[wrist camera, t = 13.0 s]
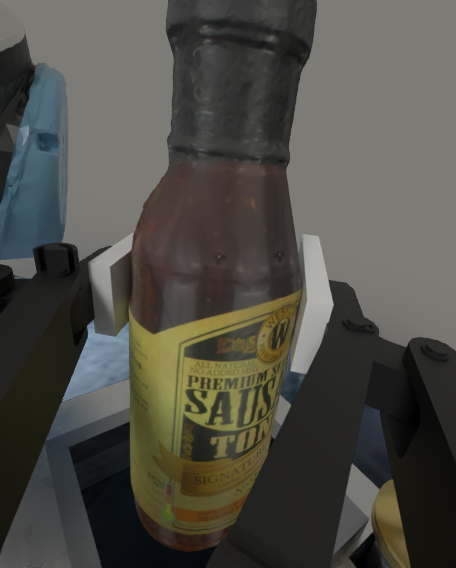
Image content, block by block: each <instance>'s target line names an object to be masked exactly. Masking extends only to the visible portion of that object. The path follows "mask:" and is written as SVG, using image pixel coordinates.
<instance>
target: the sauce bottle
mask: <svg viewBox="0 0 456 568" xmlns="http://www.w3.org/2000/svg"><path fill="white" fill-rule="evenodd" d="M316 11H317V1H316V0H168V9H167V19H166V33H167V36H168V40H169V42H170V46H171V49H172V53H173V57H174V67H173V97H172V120H171V133H170V135H169V136H168V139H167V143H168V150H169V167H168V170H167V172H166V174H165V175H164V176H163V177H162V178H161V180H160V183H159V184H158V185H157V187H156V188H155V189H154V191H152V193H151V194H150V196H149V198H148V199H147V201H146V202H145V203H144V205H143V211H142V213H141V216H140V219H139V222H138V224H137V227H136V230H135V232H134V234H133V241H132V252H131V259H132V260H131V265H132V281H133V285H132V295H131V297H130V300H129V364H130V476H131V484H132V489H133V493H134V500H135V504H136V508H137V512H138V515H139V518H140V521H141V522H142V524H143V526H144V528H145V530H146V531H147V532H148V533H149V534H150V535H151V536H152V537H153V538H154V539H155V540H157V541H159V542H160V543H162V544H163V545H164V546H166V547H168V548H173V549H175V550H180V551H184V552H192V551H199V550H205V549H208V548H211V547H215V546H217V545H218V544H219V542H220V541H221V539H223V538H225V537H226V536H227V535H228V534H229V532H230V531H231V529H232V527H233V525H234V523H235V521H236V519H237V517H238V515H239V513H240V511H241V508H242V506H243V504H244V502H245V500H246V498H247V496H248V494H249V492H250V490H251V488H252V486H253V484H254V482H255V479H256V477H257V475H258V473H259V471H260V469H261V467H262V465H263V463H264V461H265V459H266V457H267V455H268V450H269V445H270V440H271V435H272V431H273V426H274V421H275V416H276V412H277V409H278V403H279V396H280V392H281V387H282V383H283V378H284V373H285V369H286V364H287V358H288V353H289V349H290V344H291V339H292V335H293V330H294V325H295V321H296V316H297V313H298V309H299V303H300V297H301V292H302V287H303V284H302V278H301V271H300V264H299V257H298V251H297V243H296V237H295V230H294V223H293V216H292V210H291V203H290V196H289V189H288V182H287V175H286V168H287V166H288V163H289V160H290V152H289V140H290V134H291V127H292V123H293V117H294V110H295V104H296V96H297V92H298V84H299V81H300V75H301V72H302V69H303V67H304V66H305V64H306V62H307V60H308V58H309V56H310V52H311V48H312V43H313V37H314V25H315V19H316Z"/></svg>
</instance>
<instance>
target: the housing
mask: <svg viewBox="0 0 456 568" xmlns="http://www.w3.org/2000/svg"><path fill="white" fill-rule="evenodd" d="M290 407H291V404H290V403H289V402H287V401H286V400H285V399H284V398H283V397H282V396H281V395H280V396H279V403H278V409H277V412H276V416H275V421H274V426H273V431H272V435H271V440H270V445H269V450H270V448H271V446H272V444H273V442H274V440H275V438H276V436H277V434H278V432H279V430H280V428H281V425H282V423H283V421H284V419H285V417H286V415H287V413H288V411H289V409H290ZM269 450H268V452H269ZM128 467H130V379H127V380H124V381H121V382H118V383H116V384H113V385H110V386H107V387H104V388H101V389H98V390H95V391H93V392H90V393H87V394H84V395H81V396H78V397H75V398H73V399H70V400H67V401H64V402H61V404H60V407H59V409H58V412H57V414H56V416H55V419H54V421H53V424H52V426H51V429H50V431H49V434H48V436H47V439H46V441H45V444H44V446H43V448H42V451H41V453H40V456H39V458H38V461H37V463H36V466H35V468H34V471H33V473H32V476H31V478H30V480H29V483H28V485H27V488H26V490H25V493H24V495H23V498H22V500H21V503H20V505H19V508H18V510H17V512H16V515H15V517H14V520H13V522H12V525H11V527H10V530H9V532H8V535H7V537H6V540H5V542H4V545H3V548H2V551H1V555H0V568H102V566H101V563H100V559H99V556H98V552H97V548H96V545H95V541H94V538H93V534H92V530H91V527H90V523H89V520H88V516H87V513H86V509H85V505H84V502H83V498H82V495H81V491H82V490H84V489H86V488H88V487H90V486H92V485H94V484H96V483H98V482H100V481H102V480H104V479H106V478H108V477H110V476H112V475H114V474H116V473H118V472H120V471H122V470H124V469H126V468H128ZM379 490H380V489H379V488H377V487H376V486H375V485H374V484H373V483H372V482H371V481H370V480H369V479H368V478H367V477H366V476H365V475H364V474H363V473H362V472H361V471H360V470H359V469H358V468H357V467H355V466H354V465H353V464H352V466H351V470H350V475H349V480H348V485H347V490H346V494H345V499H344V504H343V509H342V514H341V518H340V523H339V528H338V533H337V538H336V542H335V547H334V552H333V557H332V562H331V566H330V568H356V566H355V565H354V563H355V562H356V561H357V560H358V559H359V558H360V557H361V556H362V555H363V553H364V552H365V551H366V550H367V549H368V548H369V547H370V546H371V545H372V544H373V543H374V541H375V536H374V533H373V529H372V523H371V510H372V506H373V503H374V500H375V498H376V496H377V494H378V492H379Z"/></svg>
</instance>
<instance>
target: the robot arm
mask: <svg viewBox="0 0 456 568" xmlns="http://www.w3.org/2000/svg"><path fill="white" fill-rule="evenodd" d="M65 86H66V83H65V79H64V77H63V75H62V74H61V73H60V72H59V71H58V70H56V69H53V68H50V67H49V66H48V65H47V64H46V63H38V64H37V65H34V64H33V62H32V60H31V58H30V54H29V49H28V45H27V40H26V35H25V30H24V27H23V23H22V20H21V18H20V17H19V15H17V13H16V12H15V11H14V10H12V8H10V6H9V5H7V3H6V2H4V0H0V260H6V259H19V258H30V257H34V259H35V264H36V270H37V273H36V274H35V275H34V277H33V278H32V279H14V276H13V271H12V268H10V267H9V266H6V265H1V264H0V555H1V551H2V548H3V545H4V542H5V540H6V537H7V535H8V532H9V530H10V527H11V525H12V522H13V520H14V517H15V515H16V512H17V510H18V508H19V505H20V503H21V500H22V498H23V495H24V493H25V490H26V488H27V485H28V483H29V480H30V478H31V476H32V473H33V471H34V468H35V466H36V463H37V461H38V458H39V456H40V453H41V451H42V448H43V446H44V444H45V441H46V439H47V436H48V434H49V431H50V429H51V426H52V424H53V421H54V419H55V416H56V414H57V412H58V409H59V407H60V404H61V402H62V399H63V397H64V394H65V392H66V389H67V387H68V384H69V382H70V380H71V377H72V375H73V372H74V370H75V367H76V365H77V362H78V360H79V357H80V355H81V352H82V350H83V348H84V345H85V343H86V340H87V338H88V331H87V325H88V324H89V323H90V322H91V321H92V320H93V319H94V325H95V333H99V334H104V335H109V336H114V337H115V336H116V335H117V334H118V333H119V332H120V331H121V329H122V328H123V327H124V326H125V325H126V323H127V322H128V321H129V300H130V297H131V295H132V285H133V281H132V265H131V260H132V259H131V252H132V241H133V234H134V232H133V233H132V234H130V235H129V236H128V237H126V238H124V239H123V240H121V241H120V242H118V243H117V244H115V245H114V246H108V247H105V248H101V249H99V250H97V251H96V252H94V253H93V254H92V255H90V256H88V257H86V259H83V260H82V261H80V262H79V258H78V250H77V247H76V246H75V245H72V244H68V243H61V242H62V239H63V236H64V230H65V222H66V209H67V189H68V186H67V185H68V108H67V97H66V91H65ZM298 257H299V264H300V271H301V278H302V284H303V287H302V292H301V297H300V303H299V309H298V313H297V316H296V321H295V325H294V330H293V335H292V339H291V368H290V371H293V372H298V373H303V374H306V376H305V378H304V380H303V382H302V384H301V386H300V388H299V390H298V392H297V394H296V396H295V398H294V401H293V403H292V405H291V407H290V409H289V411H288V413H287V415H286V417H285V419H284V421H283V423H282V425H281V428H280V430H279V432H278V434H277V436H276V438H275V440H274V442H273V444H272V446H271V448H270V450H269V452H268V455H267V457H266V459H265V461H264V463H263V465H262V467H261V469H260V471H259V473H258V475H257V477H256V479H255V482H254V484H253V486H252V488H251V490H250V492H249V494H248V496H247V498H246V500H245V502H244V504H243V506H242V508H241V511H240V513H239V515H238V517H237V519H236V521H235V523H234V525H233V527H232V529H231V531H230V532H229V534H228V535H227V536H226V537H225V538H223V539H221V541H220V542H219V544H218V545H217V547H216V548H215V550H214V552H213V554H212V556H211V557H210V559H209V561H208V563H207V565H206V567H205V568H330V566H331V562H332V557H333V552H334V547H335V542H336V538H337V533H338V528H339V523H340V518H341V514H342V509H343V504H344V499H345V494H346V490H347V485H348V480H349V475H350V470H351V466H352V461H353V456H354V451H355V446H356V442H357V437H358V432H359V427H360V422H361V418H362V413H363V408H364V404H366V405H369V406H371V407H373V408H375V409H378V410H380V418H381V423H382V428H383V433H384V438H385V443H386V448H387V453H388V458H389V463H390V468H391V473H392V478H393V482H394V487H395V492H396V497H397V502H398V507H399V512H400V517H401V522H402V527H403V532H404V537H405V542H406V547H407V552H408V557H409V562H410V567H411V568H456V351H455V350H454V349H452V348H451V347H449V346H448V345H447V344H445V343H442V342H440V341H438V340H433V339H429V338H421V337H418V338H413V339H411V340H410V341H409V343H408V345H407V348H406V347H403V346H401V345H398V344H395V343H392V342H390V341H387V340H385V339H383V338H381V337H379V336H378V335H379V329H378V327H377V326H376V325H375V324H374V323H373V322H372V321H370V320H369V319H367V318H365V317H364V316H363V313H362V311H361V308H360V305H359V303H358V299H357V298H356V294H355V291H354V289H353V288H351V287H350V286H349V285H348V284H347V283H344V282H337V281H331V280H328V277H327V272H326V268H325V263H324V259H323V254H322V250H321V245H320V241H319V237H318V236H312V235H305V234H302V238H301V243H300V248H299V253H298Z"/></svg>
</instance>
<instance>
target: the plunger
mask: <svg viewBox="0 0 456 568" xmlns="http://www.w3.org/2000/svg"><path fill="white" fill-rule="evenodd" d="M371 523H372V529H373V533H374V536H375V541H374V543H373V545H372V547H371V549H370V551H369V553H368V555H367V558H366V568H411V567H410V562H409V557H408V552H407V547H406V542H405V537H404V532H403V527H402V522H401V517H400V512H399V507H398V502H397V497H396V492H395V487H394V482H393V479H391V480H389V481H387V482H386V483H385V484H384V485H383V486H382V487H381V488H380V490H379V492H378V494H377V496H376V498H375V500H374V503H373V506H372V510H371Z"/></svg>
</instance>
